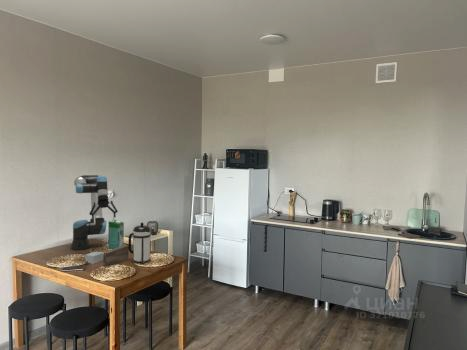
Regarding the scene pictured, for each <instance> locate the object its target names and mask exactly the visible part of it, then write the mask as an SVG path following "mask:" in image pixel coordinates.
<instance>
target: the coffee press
mask: <svg viewBox="0 0 467 350" xmlns="http://www.w3.org/2000/svg"><path fill="white" fill-rule="evenodd" d="M132 231H133V232H131V233H130V234H129V236H128V252H129V253H131V254H132V256H133V258H132V259H131V263H132V264H133V263H134V262H140V263H141V262H142V263H143V264H144V262H147V261H149V260H151V259H152V257H151V228H150V226H148V225H146V224H145V225H144V222H141V223H140V225H136V226H135V227H133V229H132ZM132 241H133V244H132Z"/></svg>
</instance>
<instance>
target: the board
mask: <svg viewBox="0 0 467 350" xmlns="http://www.w3.org/2000/svg"><path fill="white" fill-rule="evenodd" d="M102 253H103V261H102V262H103V267H106V266H109V265H111V266H113V265H116V264H118V263H121V262H123V261H124V262H125V261H127V260H129V245H124V246H121V247H118V248H115V249H112V250H109V251H108V250H107V251H104V252H102ZM109 267H110V266H109Z"/></svg>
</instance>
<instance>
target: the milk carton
mask: <svg viewBox="0 0 467 350" xmlns="http://www.w3.org/2000/svg"><path fill="white" fill-rule="evenodd" d="M124 224H125V222H123V221H120V220H117V219H114V222H113V219H112V220H109V221H108V234H107V235H108V236H107V237H108V239H107V240H108V245H107V247H108V248H107V249H115V248H118V247H121V246H125V242H124V239H125V236H124V235H125V234H124V232H125V231H124V229H125V228H124V227H125V225H124Z"/></svg>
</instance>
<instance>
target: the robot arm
mask: <svg viewBox="0 0 467 350" xmlns="http://www.w3.org/2000/svg"><path fill="white" fill-rule="evenodd" d="M73 185H74V186H75V193H76V194H90V202H91V203H90V204H91V210H90V211H89V213H88V214H89V215H90V216H91V218H90V219H89V221H88V219H79V220H77V221H75V222H73V224H72V242H71V245H70V249H71V251H72V250H73V251H83V250H88V249H90V248H91V244H90V241H89V236H96V235H103V234H105V233H106V232H107V220H105V217H103V209H105V208H108V210H110V211H111V213H112V220H113V222H114V220H115V219H116V213H117V214H118V212H119V211H118V209H117V208H116V206H115V205H114V201H113V200H111V201H110V200H109V190H108V179H107V177H106V176H103V175H99V174H93V175H92V174H87V175H86V174H83V175H81V176H80V175H79V176H78V177H76V178H75V179H74V183H73ZM109 204H110V205H111V206H110V205H109Z"/></svg>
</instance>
